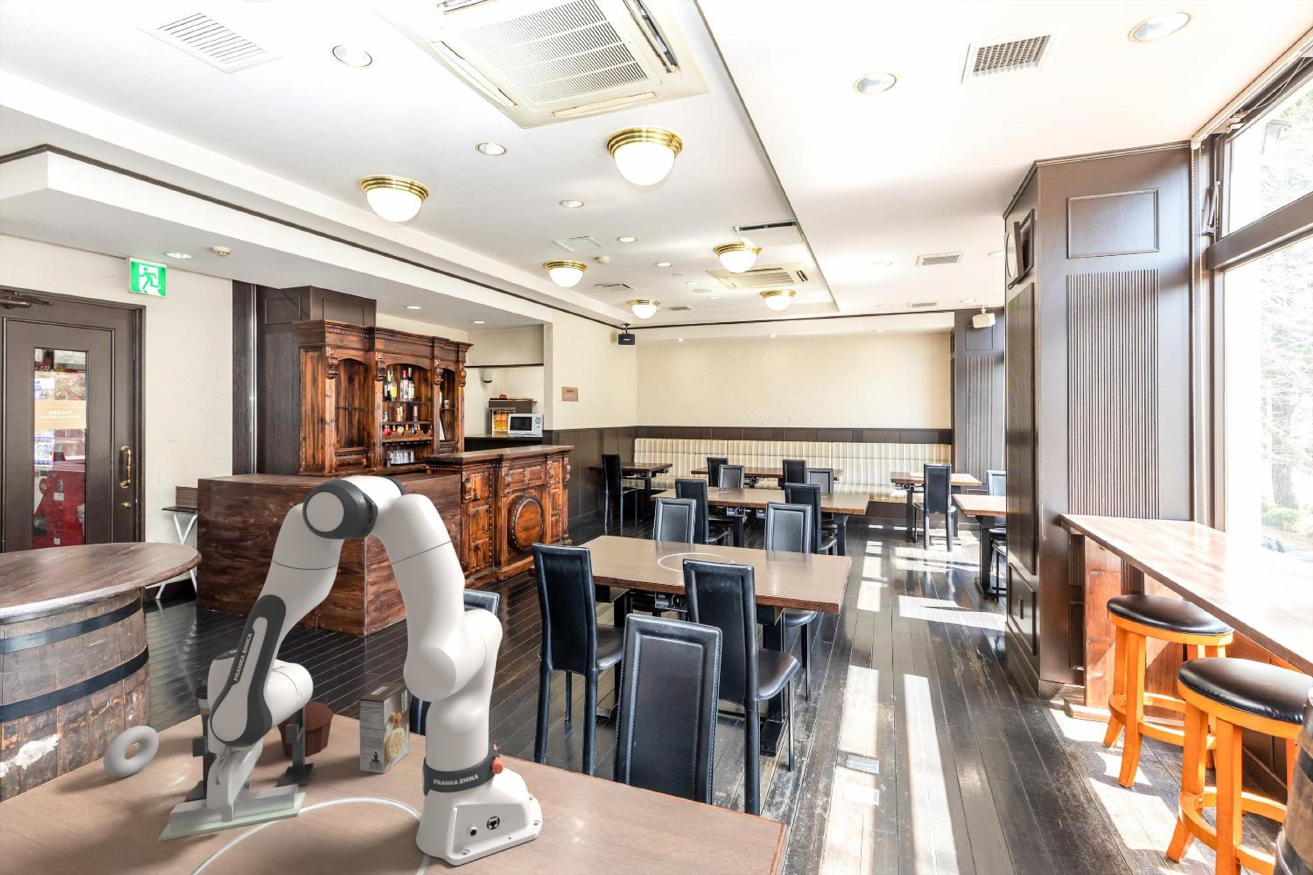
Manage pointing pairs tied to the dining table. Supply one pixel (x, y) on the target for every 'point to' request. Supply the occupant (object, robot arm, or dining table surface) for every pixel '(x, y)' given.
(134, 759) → the donut
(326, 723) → the muffin
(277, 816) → the mat
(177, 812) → the rail
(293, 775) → the rack
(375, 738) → the coffee box
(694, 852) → the dining table surface
